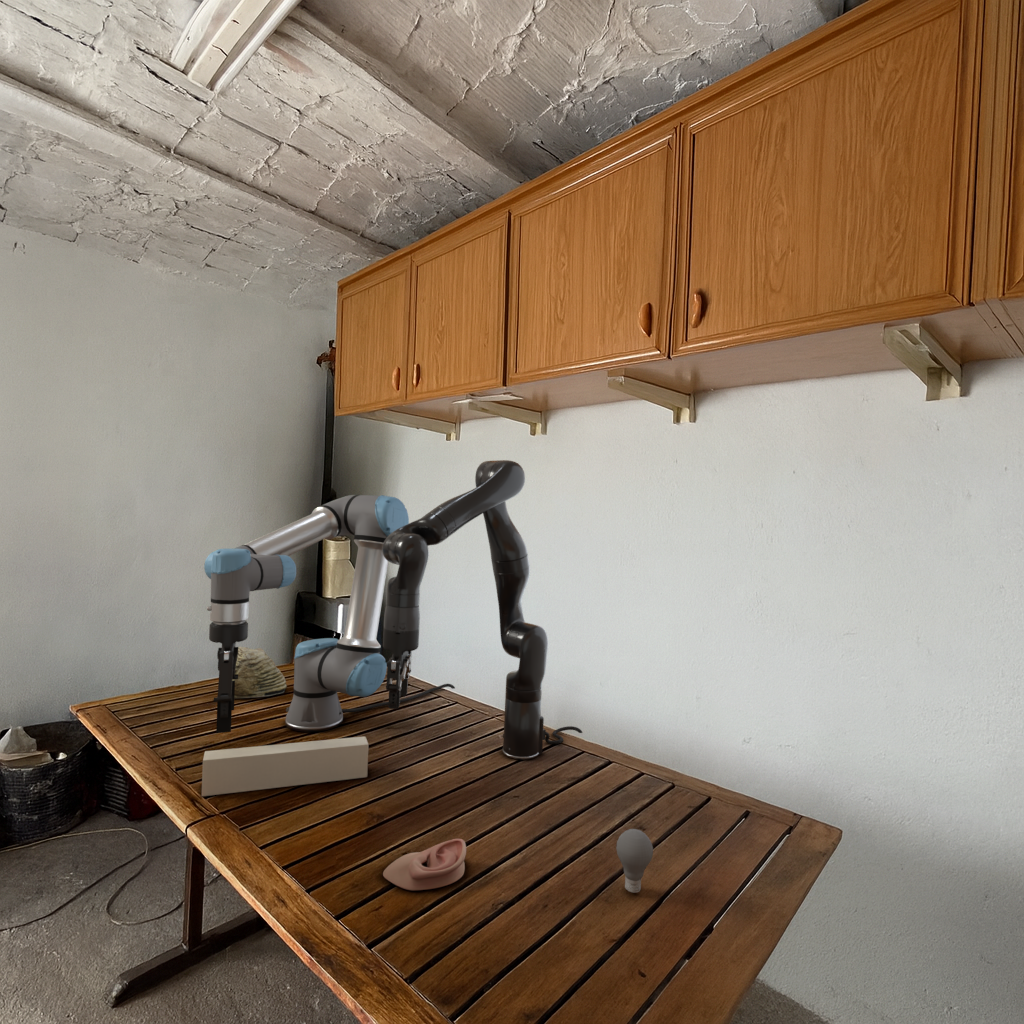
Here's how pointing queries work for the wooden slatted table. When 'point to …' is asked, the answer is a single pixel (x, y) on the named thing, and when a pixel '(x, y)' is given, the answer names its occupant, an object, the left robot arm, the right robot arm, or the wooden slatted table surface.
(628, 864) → the light bulb
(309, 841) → the wooden slatted table surface
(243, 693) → the fossil
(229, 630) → the left robot arm
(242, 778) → the beam
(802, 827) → the wooden slatted table surface
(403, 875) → the anatomical model
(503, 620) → the right robot arm
